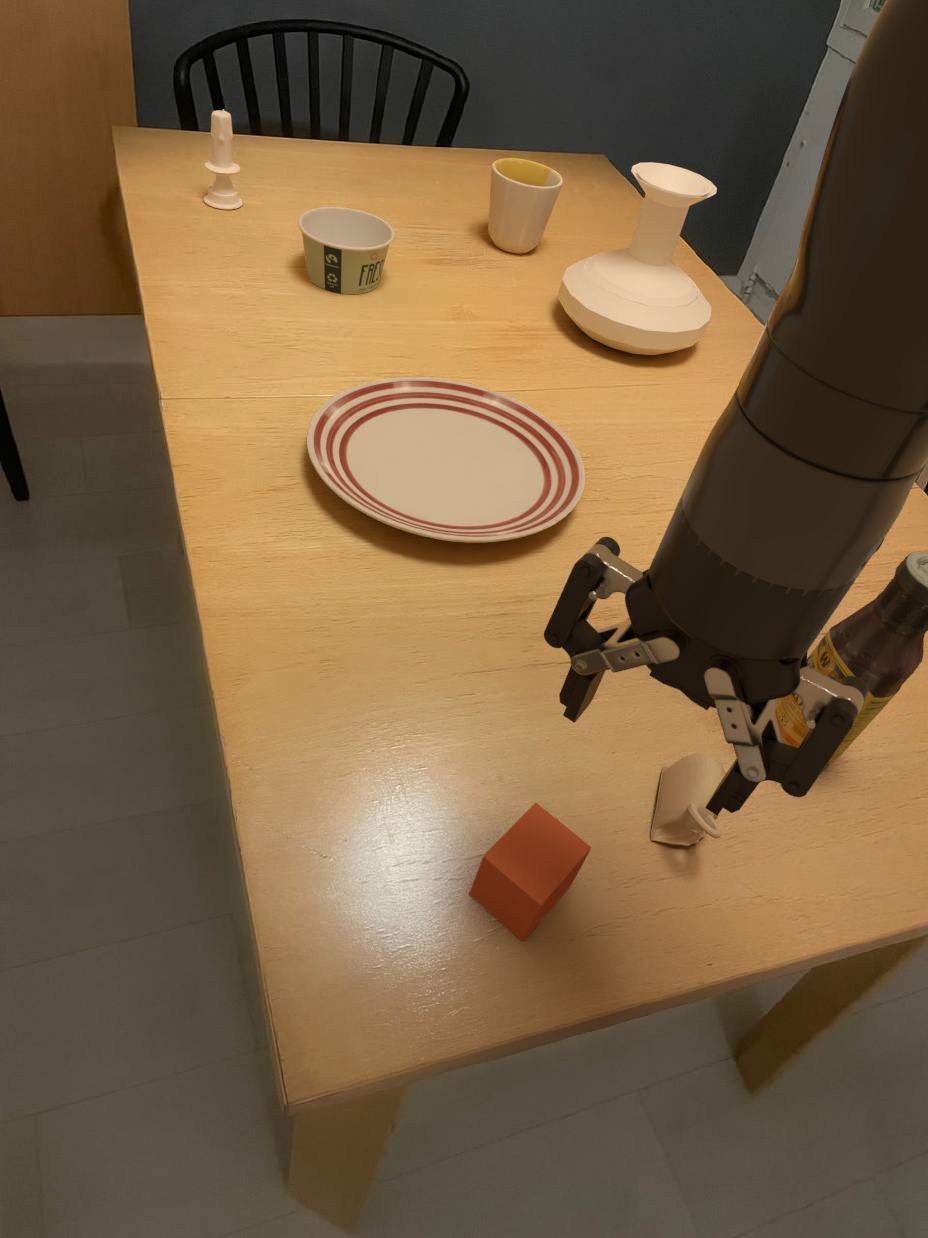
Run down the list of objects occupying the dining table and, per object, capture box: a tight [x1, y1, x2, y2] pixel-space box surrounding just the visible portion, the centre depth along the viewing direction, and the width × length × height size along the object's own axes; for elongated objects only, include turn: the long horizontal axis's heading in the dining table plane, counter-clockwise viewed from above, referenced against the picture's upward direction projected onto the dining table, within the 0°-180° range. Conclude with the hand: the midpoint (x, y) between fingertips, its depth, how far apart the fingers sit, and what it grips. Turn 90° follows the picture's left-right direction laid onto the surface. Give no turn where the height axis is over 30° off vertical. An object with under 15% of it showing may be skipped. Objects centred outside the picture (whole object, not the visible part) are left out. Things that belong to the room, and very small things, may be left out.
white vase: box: [557, 161, 718, 356], centre depth 110 cm, size 20×20×19 cm
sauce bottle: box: [776, 550, 928, 769], centre depth 63 cm, size 7×6×20 cm
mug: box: [487, 157, 564, 255], centre depth 127 cm, size 14×10×10 cm
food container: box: [297, 206, 396, 295], centre depth 111 cm, size 12×12×6 cm
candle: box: [203, 108, 244, 211], centre depth 119 cm, size 5×5×12 cm
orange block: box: [468, 802, 592, 942], centre depth 56 cm, size 4×6×5 cm
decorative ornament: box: [650, 752, 727, 847], centre depth 62 cm, size 4×8×5 cm, turn 161°
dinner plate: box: [306, 376, 586, 544], centre depth 86 cm, size 28×27×3 cm
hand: (645, 754), depth 46 cm, fingers open, 8 cm apart
